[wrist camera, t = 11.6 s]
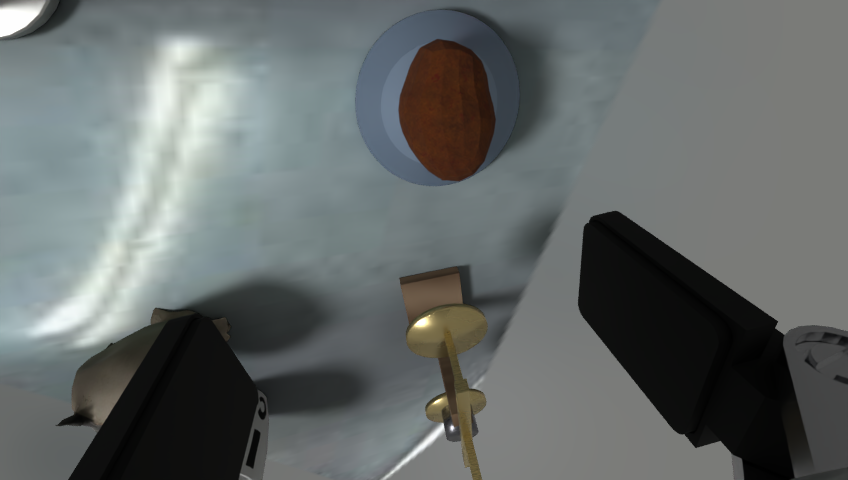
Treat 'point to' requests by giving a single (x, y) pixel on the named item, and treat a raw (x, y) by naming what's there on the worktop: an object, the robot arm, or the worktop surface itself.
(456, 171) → the potato
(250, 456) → the cup
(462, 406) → the balance beam
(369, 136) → the plate
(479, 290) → the worktop surface
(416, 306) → the balance stand
